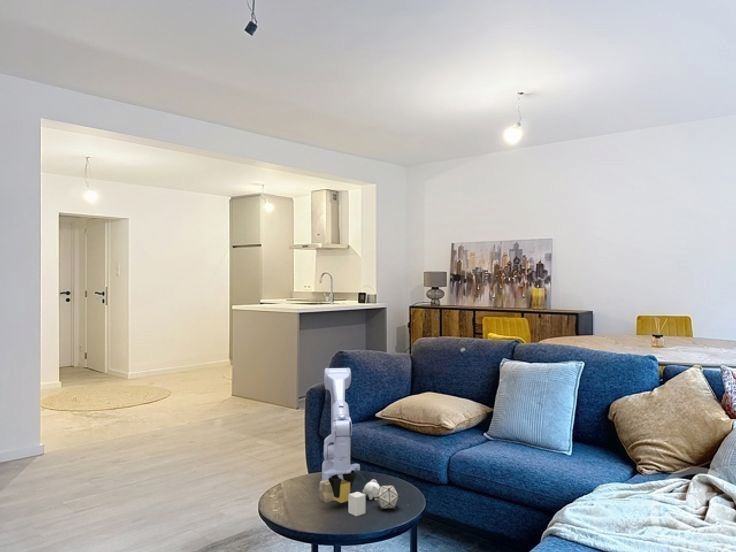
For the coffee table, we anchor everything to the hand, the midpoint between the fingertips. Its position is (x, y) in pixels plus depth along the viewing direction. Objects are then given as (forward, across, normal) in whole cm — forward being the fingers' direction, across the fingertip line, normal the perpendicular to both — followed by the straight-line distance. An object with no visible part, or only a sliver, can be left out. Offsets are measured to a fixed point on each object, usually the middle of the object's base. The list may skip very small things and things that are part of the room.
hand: (341, 495), depth 192 cm
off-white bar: (+3, 0, -8) cm, 9 cm away
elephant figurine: (+4, +12, -2) cm, 13 cm away
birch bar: (+3, 0, +8) cm, 9 cm away
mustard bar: (+2, 0, 0) cm, 2 cm away
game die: (+4, +10, -12) cm, 16 cm away
